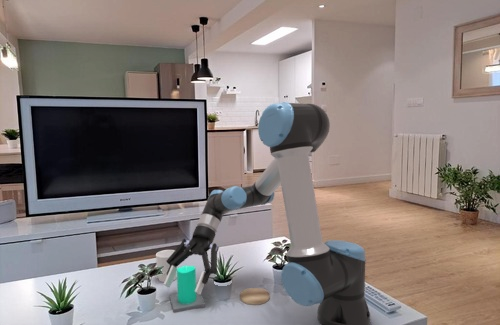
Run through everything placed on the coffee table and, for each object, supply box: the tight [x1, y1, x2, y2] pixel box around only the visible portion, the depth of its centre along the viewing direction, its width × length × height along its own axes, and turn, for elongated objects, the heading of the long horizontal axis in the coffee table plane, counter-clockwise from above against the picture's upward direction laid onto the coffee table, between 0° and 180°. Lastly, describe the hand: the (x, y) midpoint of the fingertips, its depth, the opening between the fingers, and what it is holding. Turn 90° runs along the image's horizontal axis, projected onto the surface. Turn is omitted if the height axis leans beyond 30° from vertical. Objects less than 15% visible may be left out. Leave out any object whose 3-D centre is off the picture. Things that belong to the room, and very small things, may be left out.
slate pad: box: [169, 293, 206, 313], centre depth 116 cm, size 10×10×1 cm
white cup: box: [155, 249, 178, 283], centre depth 134 cm, size 8×8×10 cm
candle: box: [176, 264, 197, 304], centre depth 116 cm, size 6×6×12 cm
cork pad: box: [239, 287, 270, 306], centre depth 119 cm, size 10×10×1 cm
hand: (181, 289), depth 113 cm, fingers open, 11 cm apart
